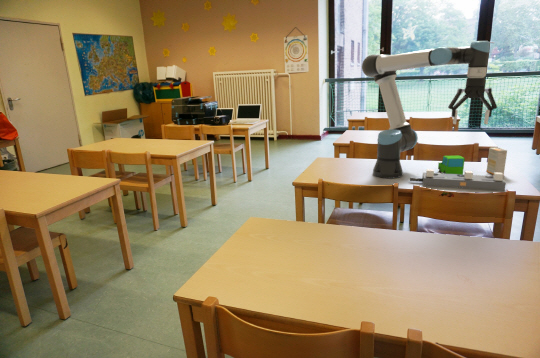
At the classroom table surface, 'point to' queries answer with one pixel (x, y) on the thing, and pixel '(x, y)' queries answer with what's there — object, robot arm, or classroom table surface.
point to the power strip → (461, 181)
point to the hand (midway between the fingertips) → (469, 124)
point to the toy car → (452, 165)
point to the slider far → (498, 176)
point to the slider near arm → (429, 173)
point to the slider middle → (468, 175)
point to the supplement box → (496, 160)
